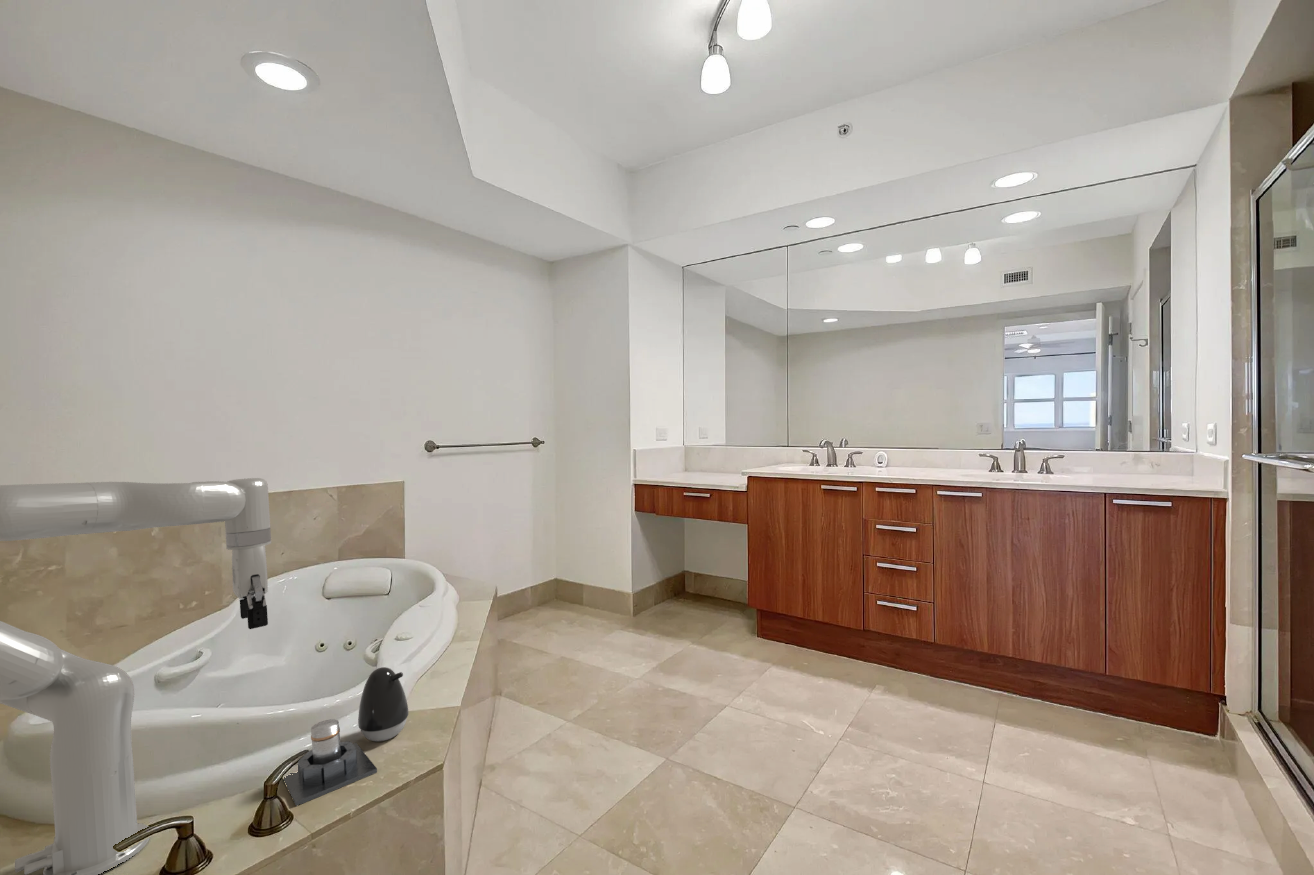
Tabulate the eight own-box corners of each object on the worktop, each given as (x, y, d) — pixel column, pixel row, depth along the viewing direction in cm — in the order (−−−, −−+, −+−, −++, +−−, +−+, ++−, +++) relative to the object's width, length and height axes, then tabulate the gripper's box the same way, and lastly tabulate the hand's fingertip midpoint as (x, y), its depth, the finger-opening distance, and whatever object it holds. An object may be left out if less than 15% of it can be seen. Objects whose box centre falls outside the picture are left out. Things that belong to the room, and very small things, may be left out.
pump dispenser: (390, 749, 123) (386, 679, 122) (348, 746, 125) (344, 677, 124) (419, 724, 133) (416, 659, 132) (380, 722, 135) (376, 658, 134)
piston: (317, 780, 111) (314, 734, 111) (310, 770, 115) (307, 726, 114) (345, 768, 115) (342, 724, 114) (337, 759, 118) (334, 716, 118)
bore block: (295, 806, 105) (294, 785, 105) (280, 775, 115) (279, 756, 115) (377, 772, 114) (375, 753, 114) (356, 746, 125) (355, 728, 125)
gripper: (220, 537, 121) (225, 617, 121) (232, 547, 108) (237, 636, 109) (263, 531, 126) (268, 608, 126) (278, 540, 113) (284, 626, 114)
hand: (254, 621), depth 118 cm, fingers open, 9 cm apart
